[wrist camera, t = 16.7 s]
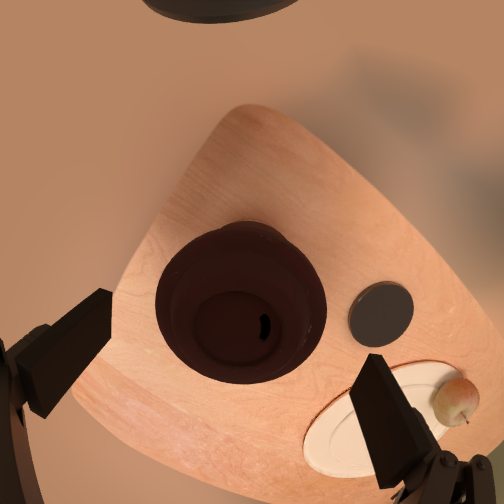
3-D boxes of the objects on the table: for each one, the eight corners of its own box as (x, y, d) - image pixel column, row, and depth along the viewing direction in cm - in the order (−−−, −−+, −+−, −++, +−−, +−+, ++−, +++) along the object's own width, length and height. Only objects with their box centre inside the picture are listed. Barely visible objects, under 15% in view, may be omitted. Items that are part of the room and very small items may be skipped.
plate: (331, 488, 40) (332, 491, 40) (272, 415, 34) (272, 419, 34) (462, 427, 36) (463, 430, 36) (460, 324, 30) (462, 327, 30)
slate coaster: (363, 274, 29) (365, 276, 28) (420, 289, 29) (424, 291, 29) (337, 338, 31) (339, 342, 30) (394, 347, 31) (396, 351, 31)
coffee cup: (182, 265, 30) (118, 342, 15) (236, 184, 27) (207, 194, 13) (261, 317, 31) (258, 422, 16) (319, 243, 28) (371, 311, 14)
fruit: (463, 392, 33) (485, 422, 26) (426, 412, 34) (445, 446, 27) (466, 360, 32) (493, 391, 24) (426, 382, 33) (450, 418, 25)
